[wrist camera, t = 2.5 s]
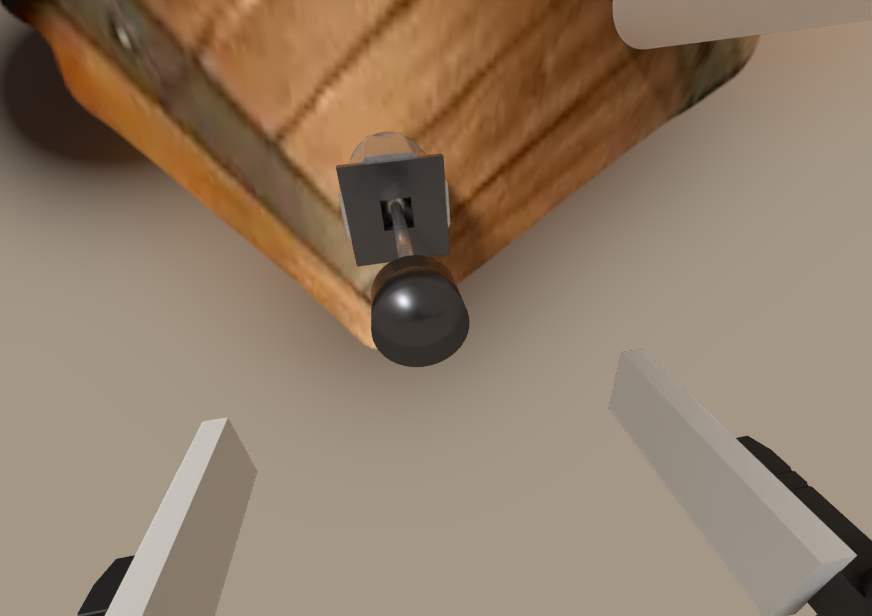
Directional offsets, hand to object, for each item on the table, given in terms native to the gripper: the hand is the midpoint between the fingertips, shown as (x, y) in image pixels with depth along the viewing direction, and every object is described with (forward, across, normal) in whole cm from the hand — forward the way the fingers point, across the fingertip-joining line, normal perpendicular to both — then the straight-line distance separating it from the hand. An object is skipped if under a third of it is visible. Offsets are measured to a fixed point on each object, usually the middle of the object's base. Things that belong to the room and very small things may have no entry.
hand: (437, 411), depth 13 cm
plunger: (+25, 0, 0) cm, 25 cm away
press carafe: (+37, 0, -1) cm, 37 cm away
